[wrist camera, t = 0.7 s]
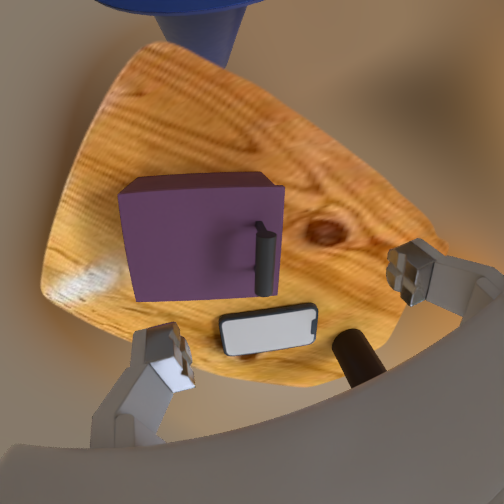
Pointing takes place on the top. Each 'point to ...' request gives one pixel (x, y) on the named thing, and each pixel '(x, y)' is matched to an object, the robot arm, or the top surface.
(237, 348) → the smartphone
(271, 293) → the lid
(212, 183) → the purple box
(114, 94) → the top surface
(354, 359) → the bottle
